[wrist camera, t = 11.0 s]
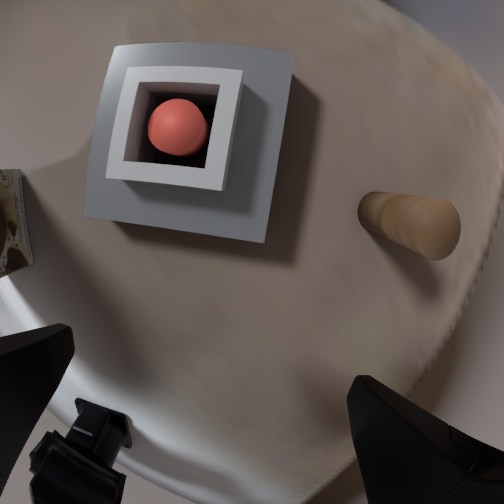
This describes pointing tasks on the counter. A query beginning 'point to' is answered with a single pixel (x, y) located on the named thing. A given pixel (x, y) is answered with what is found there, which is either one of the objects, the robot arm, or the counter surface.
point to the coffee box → (13, 224)
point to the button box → (220, 145)
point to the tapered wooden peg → (412, 222)
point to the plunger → (178, 128)
